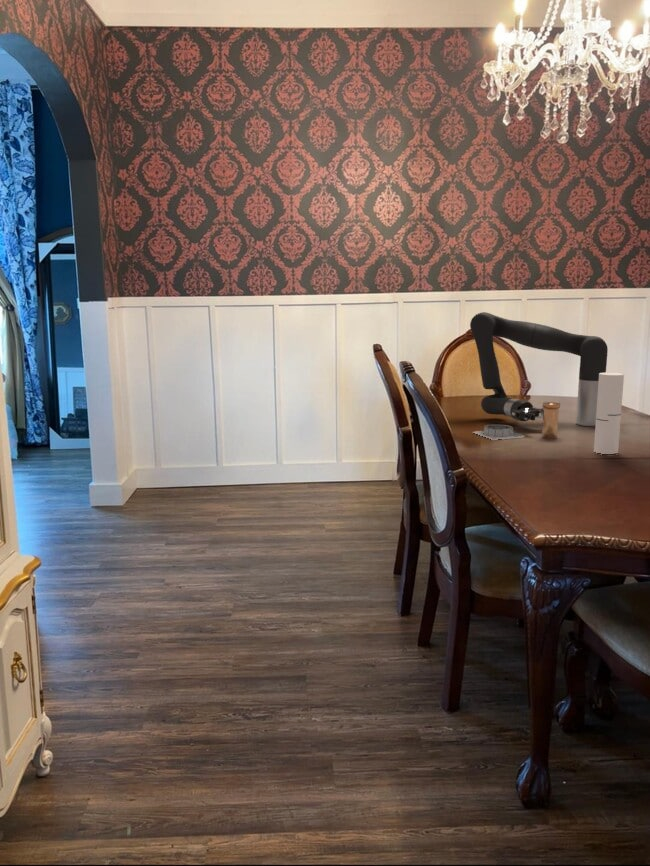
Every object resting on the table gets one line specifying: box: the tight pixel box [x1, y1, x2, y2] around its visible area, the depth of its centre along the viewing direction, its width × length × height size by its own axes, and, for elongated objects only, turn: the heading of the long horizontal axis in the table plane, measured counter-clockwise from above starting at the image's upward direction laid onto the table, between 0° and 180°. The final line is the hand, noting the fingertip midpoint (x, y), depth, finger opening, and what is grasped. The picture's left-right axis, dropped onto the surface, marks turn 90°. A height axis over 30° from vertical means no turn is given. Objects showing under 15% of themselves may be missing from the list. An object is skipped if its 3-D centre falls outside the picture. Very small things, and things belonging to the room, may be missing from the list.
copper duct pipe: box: [541, 401, 561, 439], centre depth 242 cm, size 6×6×12 cm
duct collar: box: [472, 423, 526, 441], centre depth 247 cm, size 13×13×3 cm
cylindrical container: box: [593, 372, 625, 455], centre depth 218 cm, size 7×7×25 cm
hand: (544, 416), depth 245 cm, fingers open, 8 cm apart
